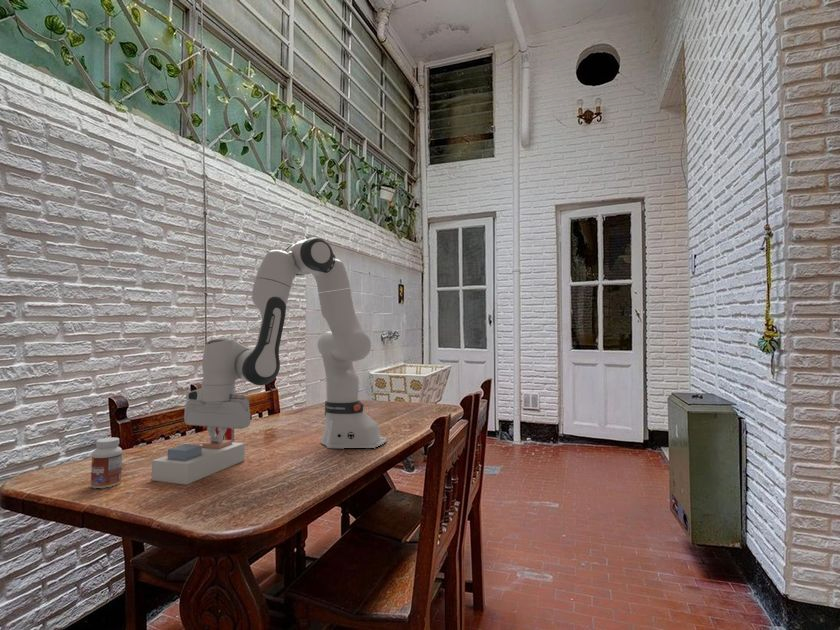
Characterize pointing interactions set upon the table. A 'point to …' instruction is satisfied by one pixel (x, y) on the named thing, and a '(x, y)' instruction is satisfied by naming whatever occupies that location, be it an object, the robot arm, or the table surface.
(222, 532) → the table surface
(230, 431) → the soda can
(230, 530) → the table surface
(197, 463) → the key box
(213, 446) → the terracotta key
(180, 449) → the slate key
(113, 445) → the pill bottle
